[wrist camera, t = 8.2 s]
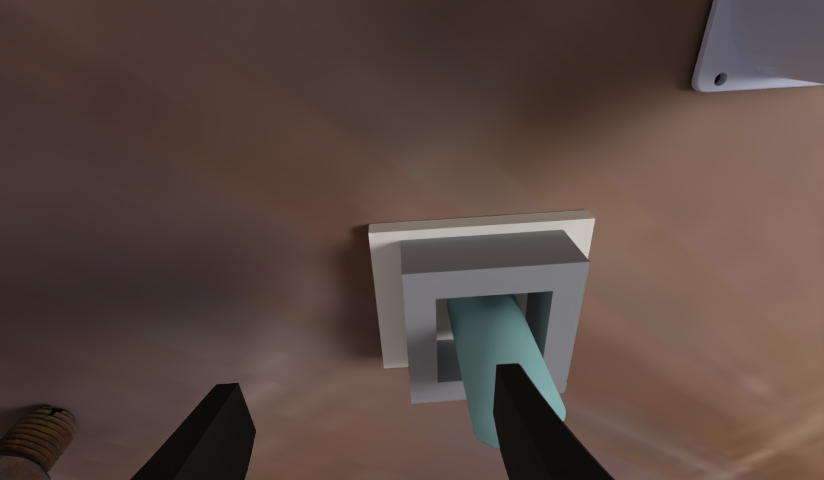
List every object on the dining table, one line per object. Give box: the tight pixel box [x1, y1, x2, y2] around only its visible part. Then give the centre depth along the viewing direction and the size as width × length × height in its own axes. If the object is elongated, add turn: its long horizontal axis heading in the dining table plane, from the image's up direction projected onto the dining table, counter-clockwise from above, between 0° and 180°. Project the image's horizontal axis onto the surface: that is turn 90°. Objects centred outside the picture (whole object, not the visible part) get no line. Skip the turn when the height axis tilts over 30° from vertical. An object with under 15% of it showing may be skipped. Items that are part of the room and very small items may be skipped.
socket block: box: [368, 210, 595, 403], centre depth 20 cm, size 11×9×4 cm
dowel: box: [447, 294, 566, 448], centre depth 18 cm, size 4×4×7 cm
